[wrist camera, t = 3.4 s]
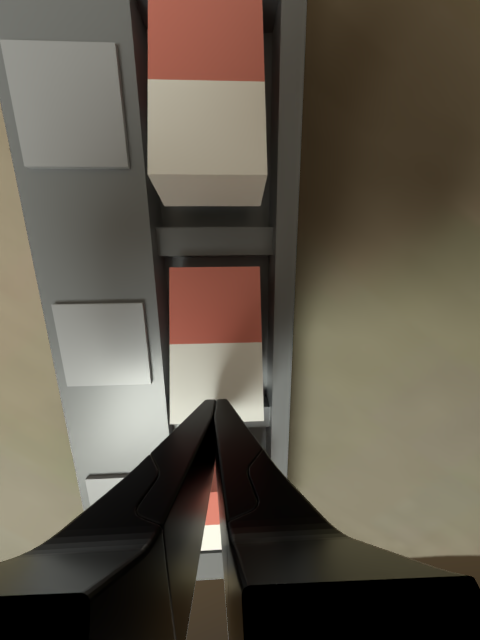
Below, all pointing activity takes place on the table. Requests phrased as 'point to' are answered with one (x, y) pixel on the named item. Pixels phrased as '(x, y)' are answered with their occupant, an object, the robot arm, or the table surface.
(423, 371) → the table surface
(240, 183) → the rocker
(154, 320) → the power board
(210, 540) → the rocker
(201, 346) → the block
